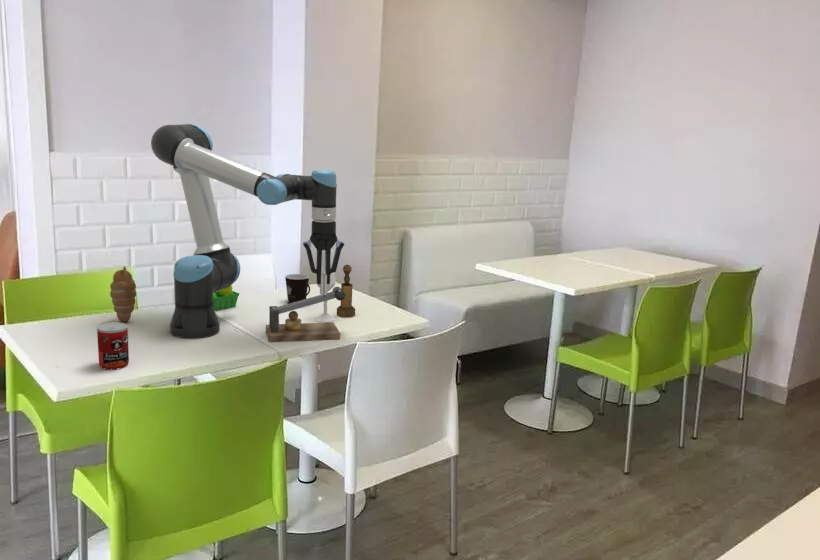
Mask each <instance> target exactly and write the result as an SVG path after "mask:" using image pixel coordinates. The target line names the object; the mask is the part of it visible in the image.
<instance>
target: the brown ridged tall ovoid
mask: <svg viewBox="0 0 820 560" xmlns="http://www.w3.org/2000/svg"><path fill="white" fill-rule="evenodd" d="M109 287H110V292H109V294H110V295H109V297H110V298H111V303H112V305H113V310H114V312H115V313H116V317H117V319H118V321H120V323H127V322H128V321H130V319H131V317H132V313H133V312H134V309H135V304H136V296H137V290H136V288H137V284H136V282H135V280H134V278H133V275H132V274H131V272H130V271H129V270H127V267H126V266H124V267H123V268H122V269H119V270H116V271H115V272H114V274H113V275H112V282H111V283H110V285H109Z"/></svg>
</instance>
